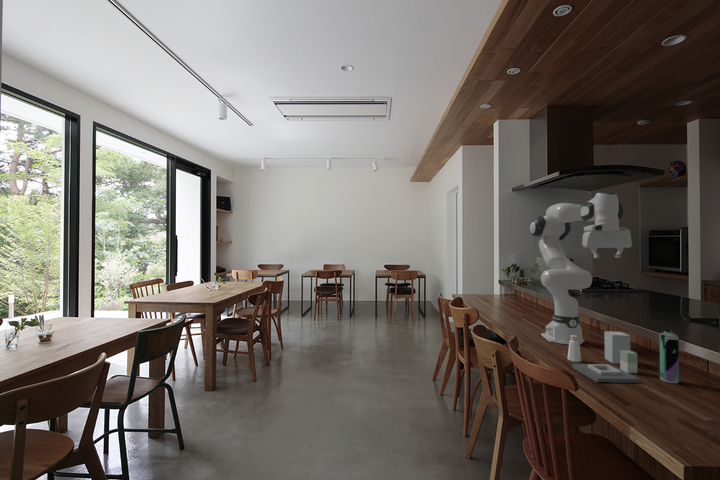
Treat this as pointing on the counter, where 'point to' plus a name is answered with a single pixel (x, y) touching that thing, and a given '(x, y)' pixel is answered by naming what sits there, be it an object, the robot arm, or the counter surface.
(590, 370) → the square peg socket board
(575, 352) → the pepper shaker
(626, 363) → the block stack
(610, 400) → the counter surface
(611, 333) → the supplement box
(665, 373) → the spray can
